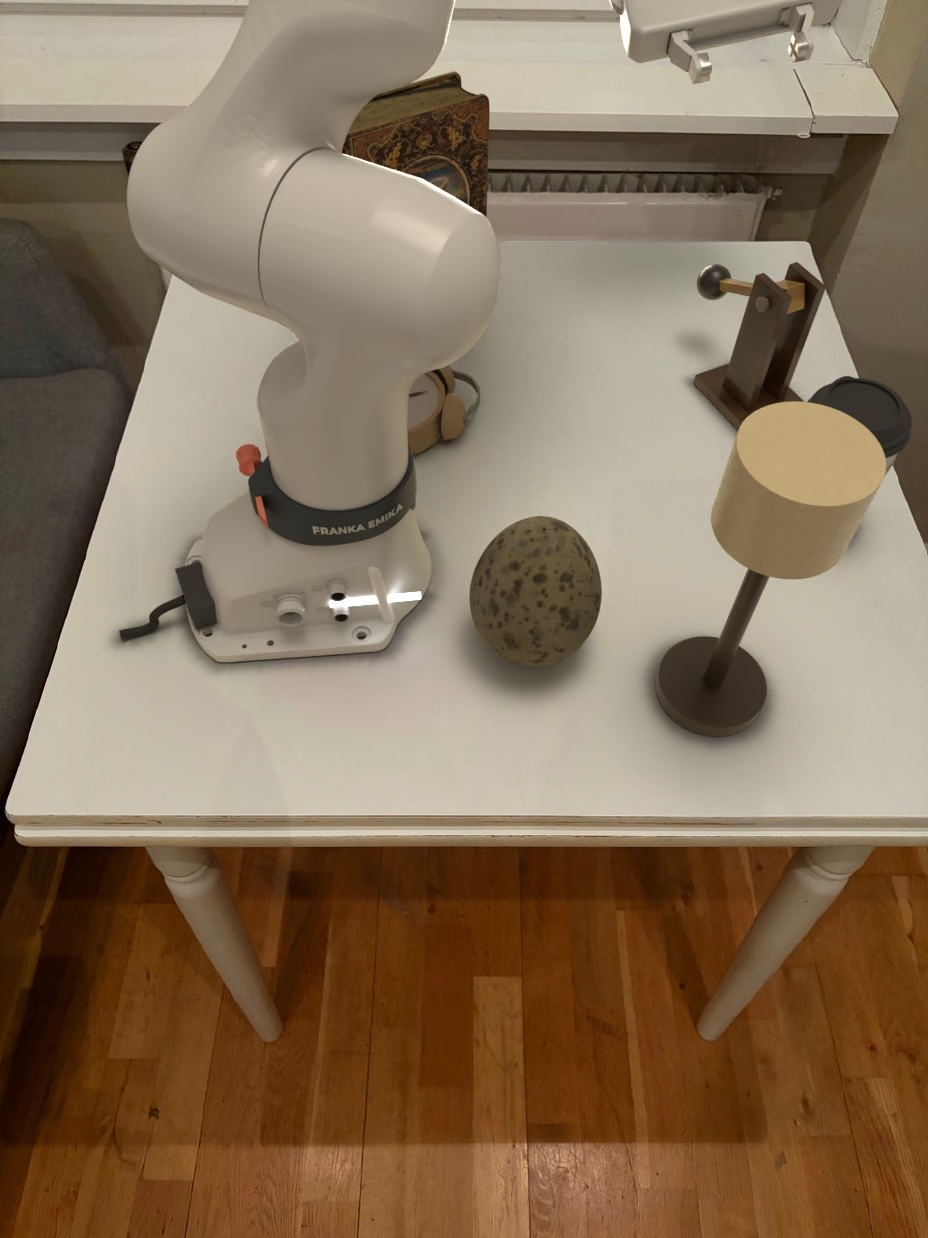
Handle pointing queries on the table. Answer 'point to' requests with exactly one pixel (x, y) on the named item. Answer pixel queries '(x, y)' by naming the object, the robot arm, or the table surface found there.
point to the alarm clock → (437, 408)
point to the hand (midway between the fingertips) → (753, 65)
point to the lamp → (771, 546)
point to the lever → (742, 286)
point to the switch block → (764, 349)
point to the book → (428, 136)
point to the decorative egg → (536, 592)
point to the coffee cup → (870, 411)
